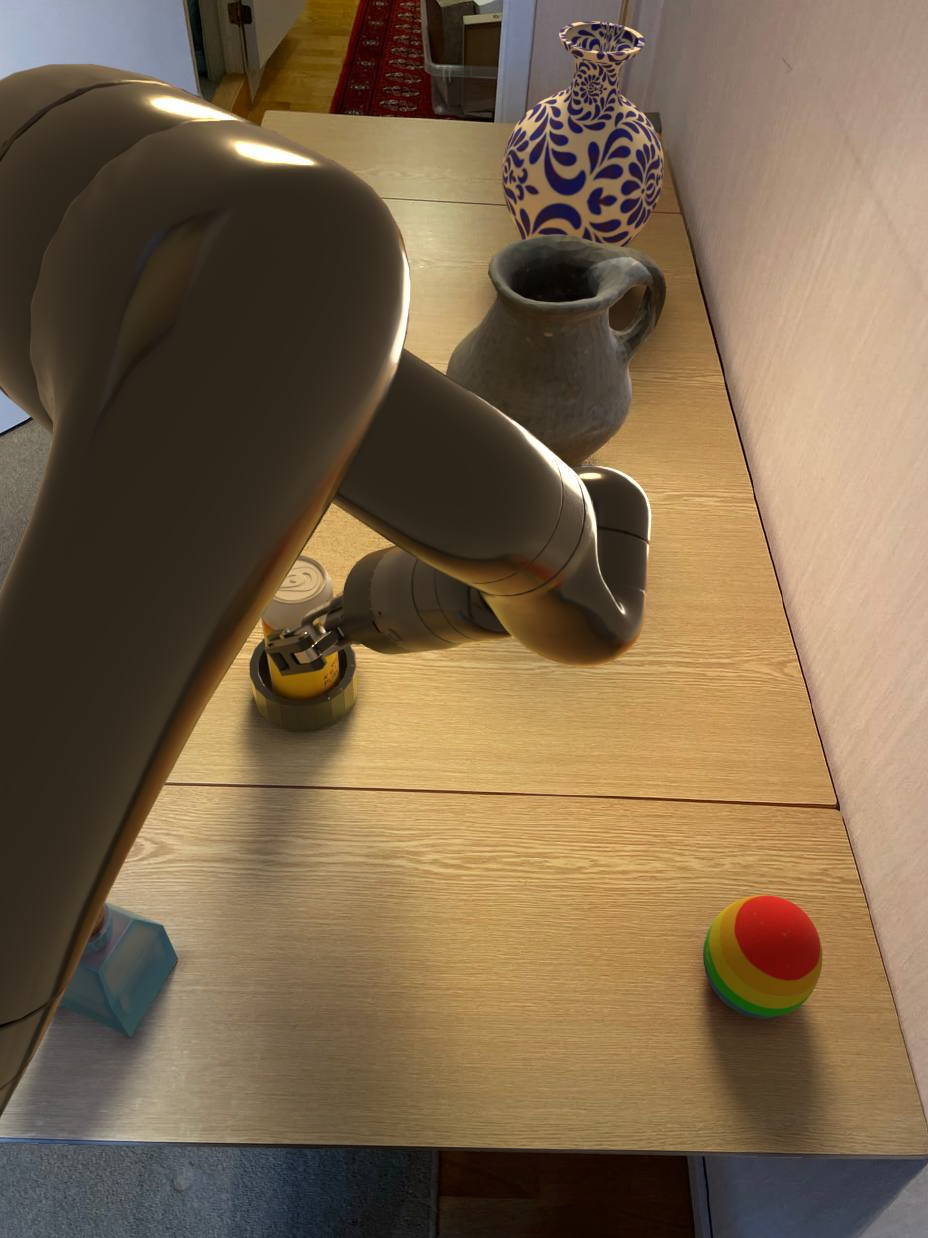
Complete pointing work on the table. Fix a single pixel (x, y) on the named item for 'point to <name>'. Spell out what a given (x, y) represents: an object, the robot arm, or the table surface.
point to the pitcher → (560, 339)
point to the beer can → (286, 610)
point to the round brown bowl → (308, 711)
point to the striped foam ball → (763, 956)
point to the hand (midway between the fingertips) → (316, 615)
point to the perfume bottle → (120, 969)
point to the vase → (586, 149)
